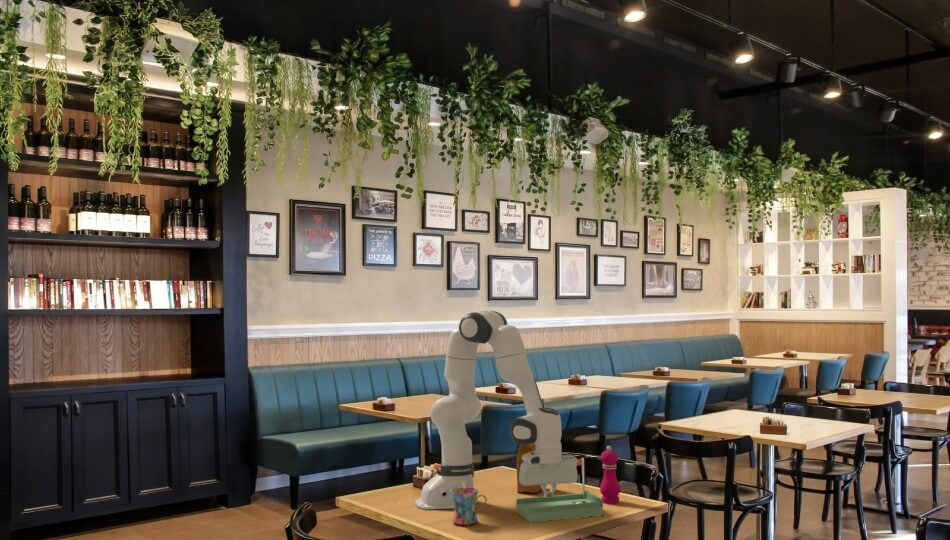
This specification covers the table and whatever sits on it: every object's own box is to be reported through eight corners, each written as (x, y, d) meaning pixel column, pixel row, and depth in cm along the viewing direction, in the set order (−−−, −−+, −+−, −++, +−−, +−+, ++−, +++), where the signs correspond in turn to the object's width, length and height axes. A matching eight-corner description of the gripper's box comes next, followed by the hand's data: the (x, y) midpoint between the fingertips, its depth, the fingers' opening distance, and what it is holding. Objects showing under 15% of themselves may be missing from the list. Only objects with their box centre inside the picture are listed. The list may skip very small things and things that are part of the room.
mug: (448, 526, 265) (447, 493, 266) (454, 518, 274) (453, 487, 275) (484, 527, 263) (484, 494, 263) (489, 519, 272) (488, 487, 273)
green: (529, 522, 268) (528, 470, 268) (516, 512, 281) (515, 462, 282) (602, 515, 274) (601, 464, 275) (586, 505, 288) (585, 457, 289)
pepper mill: (607, 505, 288) (606, 448, 288) (596, 501, 294) (595, 445, 295) (624, 503, 291) (623, 446, 291) (613, 498, 297) (611, 443, 298)
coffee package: (549, 488, 316) (548, 431, 316) (537, 495, 304) (536, 436, 305) (525, 486, 320) (524, 429, 321) (513, 493, 309) (512, 434, 309)
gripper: (573, 452, 284) (573, 492, 283) (517, 455, 278) (517, 496, 278) (580, 456, 278) (580, 497, 277) (523, 459, 272) (523, 501, 272)
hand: (548, 497), depth 278 cm, fingers closed
